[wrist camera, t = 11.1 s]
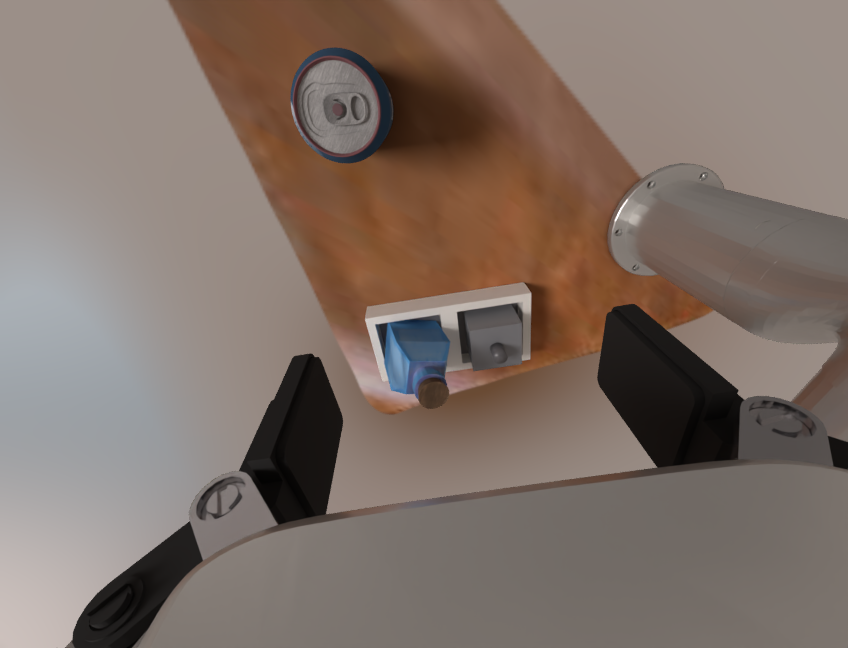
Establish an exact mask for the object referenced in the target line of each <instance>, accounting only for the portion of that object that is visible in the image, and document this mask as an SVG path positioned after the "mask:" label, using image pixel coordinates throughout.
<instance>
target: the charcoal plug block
mask: <svg viewBox="0 0 848 648" xmlns="http://www.w3.org/2000/svg"><path fill="white" fill-rule="evenodd" d="M463 312H464V322H465V332H466V342H467V349H468V353H469V357H470V360H471V364H472V368H473V371H478V370H485V369H491V368H498V367H505V366H512V365H518V364H522V322H521V321H520V319H519V317H518V315H517V313H516V312H515V310H514V308H513V306H512V304H504V305H498V306H492V307H485V308H479V309H472V310H466V311H463Z"/></svg>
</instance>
